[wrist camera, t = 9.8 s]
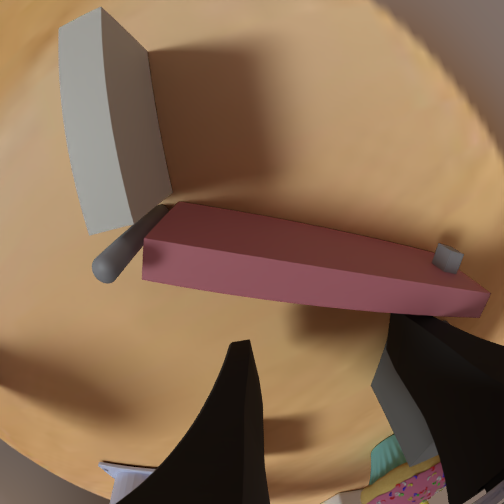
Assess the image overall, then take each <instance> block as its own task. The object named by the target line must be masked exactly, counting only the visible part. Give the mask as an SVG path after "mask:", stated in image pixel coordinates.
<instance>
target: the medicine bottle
mask: <svg viewBox="0 0 504 504" xmlns="http://www.w3.org/2000/svg"><path fill="white" fill-rule="evenodd" d="M362 490H363V489H360V490H355V491H348V492H342V493H338V494H336V495H335V496H333V497H331V498H329V499H328V500H326V501H324V502H323V503H321V504H362V503H361V499H360V495H361V492H362Z"/></svg>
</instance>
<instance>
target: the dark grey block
mask: <svg viewBox="0 0 504 504" xmlns="http://www.w3.org/2000/svg"><path fill="white" fill-rule="evenodd" d="M443 322H445V323H447V324H449V323H448V322H447V321H446V320H445V321H443ZM449 325H450V324H449ZM386 345H387V341H386V344H385V348H384V351H383V353H382V356H381V359H380V362H379V365H378V368H377V370H376V373H375V376H374V378H373V381H372V384H371V387H372V389H373V391H374V393H375V395H376V397H377V399H378V401H379V403H380V405H381V407H382V409H383V411H384V413H385V415H386V417H387V419H388V422H389V424H390V426H391V428H392V430H393V432H394V434H395V436H396V439H397V441H398V443H399V445H400V447H401V450H402V452H403V454H404V456H405V458H406V461H407V463H408V465H409V467H412V466H414V465H417V464H419V463H421V462H424V461H426V460H428V459H430V458H433V457H435V456H437V455H438V452H437V449H436V446H435V443H434V440H433V438H432V435H431V433H430V430H429V428H428V425H427V423H426V421H425V419H424V417H423V415H422V413H421V411H420V409H419V408H418V406H417V404H416V403H415V401H414V400H413V398H412V396H411V395H410V393H409V391H408V390H407V388H406V387H405V385H404V383H403V382H402V380H401V379H400V377H399V375H398V374H397V372H396V370H395V368H394V366H393V364H392V362H391V360H390V357H389V355H388V353H387V350H386Z"/></svg>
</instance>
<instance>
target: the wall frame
mask: <svg viewBox="0 0 504 504" xmlns="http://www.w3.org/2000/svg"><path fill="white" fill-rule="evenodd" d="M59 79H60V93H61V103H62V112H63V120H64V128H65V134H66V141H67V146H68V152H69V157H70V162H71V167H72V172H73V177H74V181H75V185H76V190H77V194H78V198H79V201H80V205H81V209H82V212H83V216H84V220H85V223H86V226H87V230H88V233H89V235H93V234H97V233H101V232H104V231H108V230H112V229H116V228H120V227H124V226H128V225H132V224H134V225H132V226H131V227H130V228H129V229H128V230H127V231H125V232H124V233H123V234H122V235H121V236H120V237H118V238H117V239H116V240H115V241H114V242H113V243H112V244H111V245H109V246H108V247H107V248H106V249H105V250H104V251H103V252H102V253H101V254H100V255H98V256H97V257H96V258H95V259H94V261H93V263H92V271H93V273H94V275H95V277H96V278H97V279H98V280H99V281H101V282H103V283H112V282H114V281H115V280H116V278H117V277H118V276H119V275H120V273H121V272H122V271H123V270H124V268H125V267H126V266H127V265H128V263H129V262H130V261H131V260H132V258H133V257H134V256H135V255H136V254H137V252H138V251H139V250H140V249H141V248H142V246H143V245H144V238H145V236H146V235H147V234H148V233H149V232H150V231H151V230H152V229H153V228H154V227H155V226H156V225H157V224H158V222H159V221H160V220H161V219H162V218H163V217H164V216H165V215H166V214H167V213H168V212H169V211H168V209H167V207H166V206H164V205H158V204H159V203H160V202H162V201H163V200H164V199H165V198H167V197H168V196H169V195H171V194H172V193H173V192H172V187H171V183H170V178H169V174H168V169H167V164H166V160H165V155H164V150H163V145H162V140H161V134H160V129H159V124H158V118H157V112H156V106H155V100H154V94H153V88H152V81H151V75H150V67H149V60H148V52H147V50H146V49H145V48H144V47H143V46H142V45H141V44H140V43H139V42H138V41H137V40H136V39H135V38H134V37H133V36H132V35H131V34H130V33H128V32H127V31H126V30H125V29H124V28H123V27H122V26H121V25H120V24H119V23H118V22H117V21H116V20H115V19H114V18H113V17H112V16H111V15H110V14H108V13H107V12H106V11H105V10H104V9H103V8H102V7H99V8H97V9H95V10H93V11H91V12H89V13H86V14H84V15H82V16H80V17H78V18H77V19H75V20H73V21H71V22H69V23H67V24H65V25H64V26H62V27H60V28H59ZM145 214H146V215H145ZM139 219H140V220H139Z"/></svg>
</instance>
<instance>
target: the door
mask: <svg viewBox="0 0 504 504" xmlns="http://www.w3.org/2000/svg"><path fill="white" fill-rule="evenodd" d="M463 256H464V254H462V253H461V252H459V251H458V250H456V249H454V248H453V247H451V246H447V245H444V244H440V243H438V246H437V249H436V252H435V253H433V252H429V251H425V250H421V249H417V248H413V247H409V246H405V245H401V244H397V243H392V242H388V241H384V240H379V239H375V238H370V237H366V236H361V235H357V234H352V233H348V232H343V231H338V230H334V229H329V228H324V227H319V226H314V225H309V224H304V223H299V222H294V221H289V220H284V219H278V218H273V217H268V216H262V215H257V214H251V213H245V212H240V211H234V210H228V209H222V208H216V207H210V206H204V205H198V204H191V203H185V202H178V203H177V204H176V205H175V206H174V207H173V208H172V209H171V210H170V211H169V212H168V213H167V214H166V215H165V216H164V217H163V218H162V219H161V220H160V221H159V222H158V224H157V225H156V226H155V227H154V228H153V229H152V230H151V231H150V232H149V233H148V234H147V235H146V236H145V238H144V246H143V267H142V280H147V281H152V282H158V283H163V284H169V285H175V286H180V287H186V288H192V289H198V290H204V291H211V292H217V293H223V294H230V295H237V296H244V297H251V298H258V299H265V300H273V301H280V302H288V303H296V304H305V305H313V306H322V307H331V308H341V309H351V310H362V311H373V312H385V313H398V314H412V315H428V316H447V317H473V318H480V316H481V314H482V312H483V309H484V307H485V305H486V303H487V301H488V299H489V297H490V294H491V293H490V292H488V291H487V290H486V289H484V288H483V287H482V286H480V285H479V284H478V283H476V282H475V281H474V280H472V279H471V278H470V277H468V276H467V275H465V274H464V273H463V272H461V271H460V270H458V269H459V266H460V264H461V261H462V258H463Z"/></svg>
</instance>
